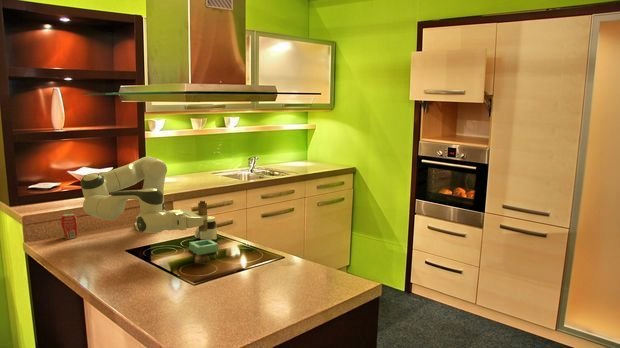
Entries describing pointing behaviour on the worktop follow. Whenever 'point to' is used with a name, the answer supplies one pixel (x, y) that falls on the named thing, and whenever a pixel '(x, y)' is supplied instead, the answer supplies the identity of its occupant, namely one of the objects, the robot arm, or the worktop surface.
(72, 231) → the soda can
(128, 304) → the worktop surface
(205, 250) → the teal square tray
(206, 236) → the spread jar
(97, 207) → the robot arm
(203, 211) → the brown textured cylinder
